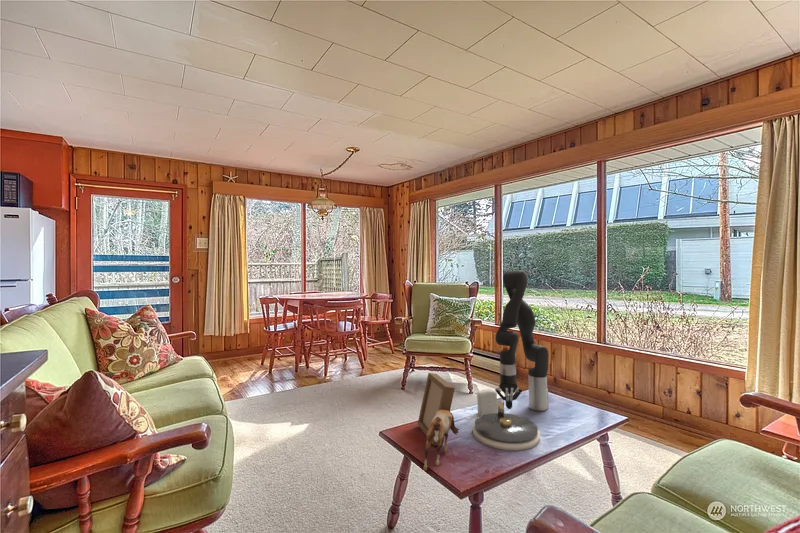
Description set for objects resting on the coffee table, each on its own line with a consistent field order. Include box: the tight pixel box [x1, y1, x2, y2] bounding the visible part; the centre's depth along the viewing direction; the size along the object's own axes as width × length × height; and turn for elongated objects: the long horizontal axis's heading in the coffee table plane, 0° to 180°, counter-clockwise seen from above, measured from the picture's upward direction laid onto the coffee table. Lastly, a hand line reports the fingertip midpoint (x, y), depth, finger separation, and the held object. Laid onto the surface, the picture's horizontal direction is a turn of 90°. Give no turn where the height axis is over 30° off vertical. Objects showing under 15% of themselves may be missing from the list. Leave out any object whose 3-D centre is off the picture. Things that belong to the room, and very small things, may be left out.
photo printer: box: [476, 388, 498, 416], centre depth 189 cm, size 10×4×12 cm, turn 104°
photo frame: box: [417, 372, 455, 447], centre depth 167 cm, size 15×22×25 cm
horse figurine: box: [423, 410, 460, 471], centre depth 146 cm, size 31×8×21 cm, turn 155°
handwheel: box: [474, 400, 539, 443], centre depth 165 cm, size 27×27×8 cm
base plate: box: [472, 422, 541, 451], centre depth 165 cm, size 29×29×2 cm
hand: (509, 408), depth 177 cm, fingers closed
